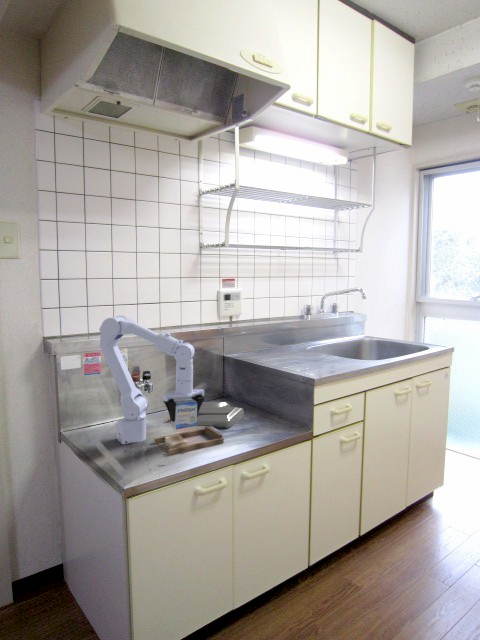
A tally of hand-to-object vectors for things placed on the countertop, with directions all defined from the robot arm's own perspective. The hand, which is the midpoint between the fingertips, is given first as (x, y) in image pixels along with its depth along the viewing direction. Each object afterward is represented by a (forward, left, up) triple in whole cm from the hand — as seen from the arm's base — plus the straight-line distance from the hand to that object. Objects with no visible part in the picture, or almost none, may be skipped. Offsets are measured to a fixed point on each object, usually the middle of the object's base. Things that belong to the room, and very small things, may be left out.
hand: (183, 418), depth 147 cm
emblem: (+21, +20, -10) cm, 31 cm away
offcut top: (-4, -2, -8) cm, 9 cm away
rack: (+1, -2, -9) cm, 10 cm away
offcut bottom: (-4, -2, -10) cm, 11 cm away
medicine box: (0, 0, -3) cm, 3 cm away
